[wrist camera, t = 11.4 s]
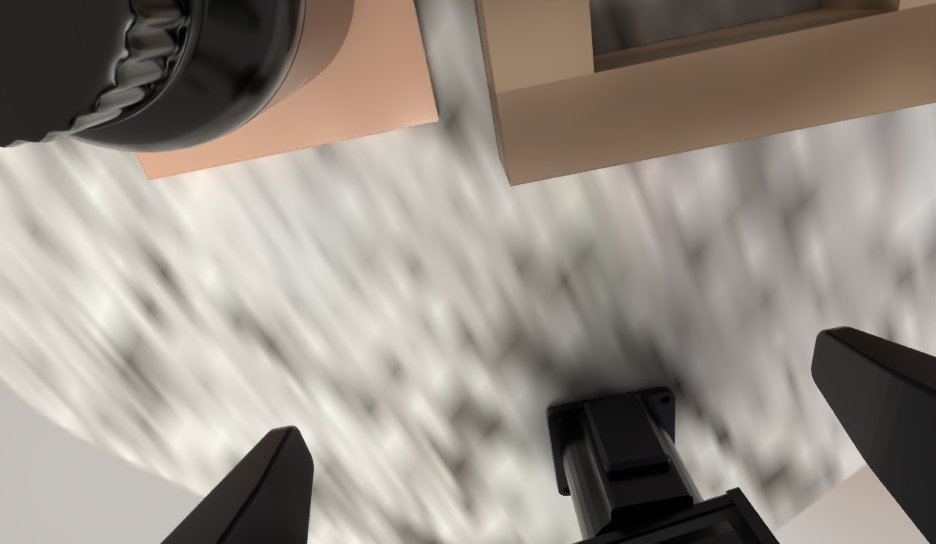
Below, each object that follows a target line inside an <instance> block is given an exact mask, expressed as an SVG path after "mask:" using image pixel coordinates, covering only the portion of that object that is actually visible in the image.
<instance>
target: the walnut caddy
mask: <svg viewBox="0 0 936 544" xmlns="http://www.w3.org/2000/svg"><path fill="white" fill-rule="evenodd" d="M474 3H475V9H476V15H477V22H478V28H479V34H480V40H481V46H482V52H483V59H484V65H485V71H486V77H487V83H488V90H489V96H490V102H491V108H492V114H493V121H494V127H495V133H496V139H497V145H498V151H499V158H500V160H501V163H502V165H503V168H504V171H505V173H506V176H507V178H508V181H509V184H510V186H515V185H520V184H525V183H530V182H535V181H540V180H545V179H550V178H555V177H560V176H565V175H571V174H576V173H581V172H586V171H591V170H596V169H601V168H606V167H611V166H616V165H621V164H626V163H631V162H636V161H641V160H646V159H651V158H657V157H662V156H667V155H672V154H677V153H682V152H687V151H692V150H697V149H702V148H707V147H712V146H717V145H722V144H727V143H732V142H737V141H743V140H748V139H753V138H758V137H763V136H768V135H773V134H778V133H783V132H788V131H793V130H798V129H803V128H808V127H813V126H818V125H823V124H828V123H834V122H839V121H844V120H849V119H854V118H859V117H864V116H869V115H874V114H879V113H884V112H889V111H894V110H899V109H904V108H909V107H914V106H920V105H925V104H930V103H935V102H936V0H821V3H820V9H815V10H810V11H805V12H801V13H796V14H791V15H786V16H781V17H777V18H772V19H767V20H762V21H757V22H753V23H748V24H743V25H738V26H733V27H728V28H724V29H719V30H714V31H709V32H704V33H700V34H695V35H690V36H685V37H680V38H676V39H671V40H666V41H661V42H656V43H651V44H647V45H642V46H637V47H632V48H627V49H623V50H618V51H613V52H608V53H603V54H599V55H594V56H593V49H592V34H591V18H590V3H589V0H474Z"/></svg>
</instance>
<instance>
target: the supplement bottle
mask: <svg viewBox="0 0 936 544" xmlns="http://www.w3.org/2000/svg"><path fill="white" fill-rule="evenodd" d="M354 4H355V0H0V147H15V146H18V145H22V144H24V143H27V142H50V141H53V140H56V139H59V138H62V137H64V136H66V137H69V138H72V139H75V140H77V141H80V142H83V143H87V144H91V145H95V146H98V147H103V148H108V149H113V150H119V151H127V152H137V153H161V152H172V151H179V150H184V149H189V148H193V147H196V146H200V145H203V144H206V143H209V142H211V141H213V140H216V139H218V138H220V137H223V136H225V135H227V134H229V133H231V132H233V131H234V130H236V129H238V128H240V127H241V126H243V125H245V124H246V123H248V122H249V121H251V120H252V119H254V118H256V117H257V116H259V115H260V114H262V113H263V112H265V111H266V110H268V109H269V108H271V107H272V106H274V105H275V104H277V103H278V102H280V101H282V100H283V99H285V98H286V97H288V96H289V95H291V94H292V93H294V92H295V91H297V90H298V89H300V88H301V87H303V86H304V85H306V84H307V83H309V82H310V81H311V80H313V79H314V78H315V77H317V76H318V75H319V74H320V73H321V72H322V71H324V70H325V69H326V68H327V67H328V65H329V64H330V63H331V62H332V61H333V60H334V58H335V57H336V55H337V54H338V52H339V51H340V49H341V47H342V45H343V43H344V41H345V39H346V37H347V34H348V32H349V28H350V25H351V22H352V17H353V12H354Z"/></svg>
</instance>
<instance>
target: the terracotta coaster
mask: <svg viewBox="0 0 936 544" xmlns="http://www.w3.org/2000/svg"><path fill="white" fill-rule="evenodd" d="M436 121H439V115H438V111H437V106H436V101H435V96H434V92H433V87H432V82H431V78H430V73H429V68H428V63H427V59H426V54H425V49H424V44H423V40H422V35H421V30H420V26H419V21H418V16H417V11H416V7H415V2H414V0H355V4H354V12H353V17H352V22H351V25H350V28H349V32H348V34H347V37H346V39H345V41H344V43H343V45H342V47H341V49H340V51H339V52H338V54H337V55H336V57H335V58H334V60H333V61H332V62H331V63H330V64H329V65H328V67H327V68H326V69H325V70H324V71H322V72H321V73H320V74H319V75H318V76H317V77H315V78H314V79H313V80H311V81H310V82H309V83H307V84H306V85H304V86H303V87H301V88H300V89H298V90H297V91H295V92H294V93H292V94H291V95H289V96H288V97H286V98H285V99H283V100H282V101H280V102H278V103H277V104H275V105H274V106H272V107H271V108H269V109H268V110H266V111H265V112H263V113H262V114H260V115H259V116H257V117H256V118H254V119H252V120H251V121H249V122H248V123H246V124H245V125H243V126H241V127H240V128H238V129H236V130H234V131H233V132H231V133H229V134H227V135H225V136H223V137H220V138H218V139H216V140H213V141H211V142H209V143H206V144H203V145H200V146H196V147H193V148H189V149H184V150H179V151H172V152H161V153H137V152H135V154H136V156H137V158H138V160H139V162H140V164H141V166H142V168H143V170H144V172H145V174H146V176H147V178H148V180H152V179H157V178H162V177H167V176H172V175H177V174H182V173H187V172H192V171H196V170H201V169H206V168H211V167H216V166H221V165H226V164H231V163H235V162H240V161H245V160H250V159H255V158H260V157H265V156H270V155H275V154H279V153H284V152H289V151H294V150H299V149H304V148H309V147H314V146H319V145H323V144H328V143H333V142H338V141H343V140H348V139H353V138H358V137H362V136H367V135H372V134H377V133H382V132H387V131H392V130H397V129H402V128H406V127H411V126H416V125H421V124H426V123H431V122H436Z"/></svg>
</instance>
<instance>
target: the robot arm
mask: <svg viewBox="0 0 936 544" xmlns="http://www.w3.org/2000/svg"><path fill="white" fill-rule="evenodd" d="M811 373H812V377H813V380H814V382H815V384H816V385H817V387H818V388H819V390H820V392H821V393H822V395H823V396H824V398H825V399H826V401H827V402H828V404H829V406H830V407H831V409H832V410H833V412H834V413H835V415H836V417H837V418H838V420H839V421H840V423H841V424H842V426H843V428H844V429H845V431H846V432H847V434H848V435H849V437H850V438H851V440H852V442H853V443H854V445H855V446H856V448H857V449H858V451H859V452H860V454H861V455H862V457H863V458H864V460H865V461H866V463H867V464H868V465H869V467H870V468H871V469H872V471H873V472H874V473H875V474H876V476H877V477H878V478H879V480H880V481H881V482H882V483H883V485H884V486H885V487H886V488H887V490H888V491H889V492H890V494H891V495H892V496H893V497H894V498H895V500H896V501H897V503H898V504H899V505H900V506H901V507H902V509H903V510H904V511H905V513H906V514H907V515H908V516H909V518H910V519H911V520H912V521H913V523H914V524H915V525H916V527H917V528H918V529H919V530H920V532H921V533H922V534H923V535H924V537H925V538H926V539H927V541H928V542H929V543H930V544H936V357H935V356H932V355H929V354H926V353H923V352H920V351H917V350H914V349H912V348H909V347H906V346H903V345H900V344H897V343H894V342H892V341H889V340H886V339H883V338H880V337H877V336H874V335H871V334H869V333H866V332H863V331H860V330H857V329H854V328H851V327H847V326H843V327H837V328H831V329H825V330H822V331H820V332H819V334H818V335H817V338H816V343H815V348H814V354H813V360H812V366H811ZM664 396H666V397H664ZM662 397H664V398H662ZM556 415H559V416H557V417H554V416H556ZM546 417H547V423H548V430H549V436H550V443H551V449H552V455H553V462H554V468H555V475H556V481H557V487H558V491H559V493H560V494H561V495H563V496H570V495H571V497H572V500H573V504H574V508H575V512H576V515H577V519H578V523H579V527H580V530H581V534H582V538H583V540H582V541H579V542H576V543H573V544H780V543H779V542H778V541H777V540H776V538H775V536H774V535H773V534H772V532H771V531H770V530H769V528H768V527H767V525H766V524H765V523H764V521H763V520H762V519H761V517H760V516H759V514H758V513H757V512H756V510H755V509H754V508H753V506H752V505H751V503H750V502H749V501H748V499H747V498H746V497H745V495H744V494H743V492H742V491H741V490H740V488H739V487H737V488H734V489H731V490H728V491H726V494H723V495H720V496H717V497H714V498H711V499H708V500H705V501H703V499H702V497H701V495H700V493H699V491H698V489H697V487H696V485H695V483H694V482H693V480H692V478H691V476H690V474H689V472H688V470H687V468H686V466H685V465H684V463H683V461H682V459H681V457H680V455H679V453H678V451H677V449H676V447H675V396H674V394H673V392H672V391H671V389H669V388H667V387H660V388H654V389H649V390H643V391H637V392H632V393H626V394H620V395H615V396H609V397H603V398H598V399H592V400H587V401H581V402H575V403H570V404H564V405H558V406H554V407H551V408H550V409H548V411H547V412H546ZM313 474H314V464H313V459H312V456H311V454H310V452H309V449H308V447H307V445H306V443H305V441H304V439H303V437H302V435H301V433H300V431H299V429H298V428H297V427H296V426H286V427H280V428H275V429H272V430H271V431H269V432H268V433H267V434H266V435H265V436H264V437H263V438H262V439H261V440H260V441H259V442H258V443H257V445H256V446H255V447H254V448H253V449H252V450H251V451H250V452H249V453H248V454H247V455H246V456H245V457H244V458H243V459H242V460H241V461H240V462H239V463H238V464H237V465H236V466H235V467H234V468H233V469H232V470H231V471H230V472H229V473H228V474H227V475H226V477H225V478H224V479H223V480H222V481H221V482H220V483H219V484H218V485H217V486H216V487H215V488H214V489H213V490H212V491H211V492H210V493H209V494H208V495H207V496H206V497H205V498H204V499H203V500H202V501H201V502H200V504H198V505H197V507H196V508H195V509H194V510H193V511H192V512H191V513H190V514H189V515H188V516H187V517H186V518H185V519H184V520H183V521H182V522H181V523H180V524H179V525H178V526H177V527H176V528H175V529H174V530H173V531H172V532H171V533H170V534H169V535H168V536H167V537H166V539H165V540H164V541H163V542H162V543H161V544H307V540H308V529H309V518H310V507H311V496H312V485H313Z"/></svg>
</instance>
